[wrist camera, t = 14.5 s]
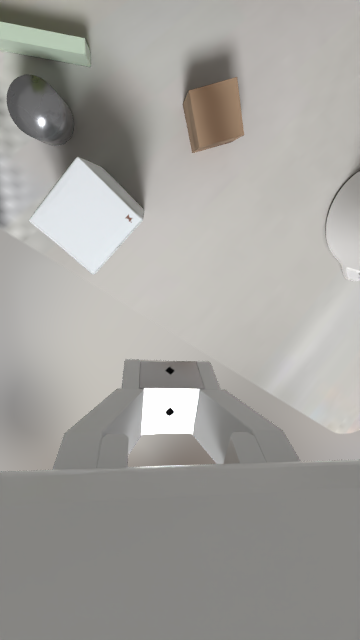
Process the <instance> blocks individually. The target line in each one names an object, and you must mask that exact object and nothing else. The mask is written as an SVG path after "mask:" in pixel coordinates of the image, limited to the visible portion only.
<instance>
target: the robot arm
mask: <svg viewBox="0 0 360 640" xmlns="http://www.w3.org/2000/svg"><path fill="white" fill-rule="evenodd" d="M326 239H327V243H328V246H329V249H330V251H331V252H332V254H333V255H334V257H335V258H336V259H337V260H338V261H339V262H340V264H341V267H342V272H343V275H344V277H345V279H347V280H350V281H359V280H360V274H359V273H360V171H359V172H357V173H356V174H355V175H353V176H352V177H351V178H350V179H349V180H348V181H347V182H346V183H345V184H344V186H343V187H342V188H341V190H340V191H339V192H338V194H337V196H336V197H335V199H334V201H333V203H332V205H331V208H330V211H329V214H328V217H327V223H326ZM158 433H191V434H192V435H193V436H194V437H195V438H196V440H197V441H198V442H199V443H200V444H201V446H202V447H203V448H204V449H205V450H206V452H207V453H208V454H209V455H210V456H211V457H212V459H213V460H214V461H215V462H216V464H208V465H179V466H151V467H150V466H149V467H127V464H128V455H129V453H130V452H131V450H132V449H133V447H134V446H135V445H136V443H137V441H138V440H139V439H140V437H141V435H142V434H158ZM0 640H360V459H358V460H332V461H303V462H302V461H300V459H299V457H298V456H297V454H296V452H295V451H294V449H293V447H292V445H291V444H290V442H289V440H288V438H287V437H286V435H285V433H284V432H283V430H281V429H280V428H279V427H277V426H276V425H274V424H273V423H272V422H270V421H269V420H267V419H266V418H264V417H263V416H262V415H260V414H259V413H257V412H256V411H255V410H253V409H252V408H250V407H249V406H247V405H246V404H244V403H243V402H242V401H240V400H239V399H238V398H236V397H235V396H233V395H232V394H230V393H229V392H228V391H226V390H221V388H220V386H219V383H218V381H217V378H216V375H215V373H214V370H213V368H212V365H211V363H210V362H209V361H160V360H139V359H136V360H135V359H125V363H124V371H123V380H122V389H116V390H115V391H114V392H113V393H112V394H110V395H109V396H108V397H107V398H105V399H104V400H103V401H102V402H101V403H100V404H98V405H97V406H96V407H95V408H94V409H93V410H91V411H90V412H89V413H88V414H87V415H85V416H84V417H83V418H82V419H81V420H80V421H79V422H77V423H76V424H75V425H74V426H73V427H71V428H70V429H69V430H68V431H67V432H66V433H65V434H64V437H63V440H62V443H61V445H60V448H59V452H58V455H57V458H56V461H55V464H54V466H53V469H52V470H31V471H3V472H2V471H1V472H0Z"/></svg>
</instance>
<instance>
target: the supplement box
mask: <svg viewBox="0 0 360 640" xmlns="http://www.w3.org/2000/svg"><path fill="white" fill-rule="evenodd" d="M143 217H144V209H143V208H142V207H141V206H140V205H139V204H138V203H137V202H136V201H135V200H134V199H133V198H132V197H131V196H130V195H129V194H128V193H127V192H126V191H125V190H124V189H123V188H122V186H121V185H120V184H119V183H118V182H117V181H115V180H114V179H113V178H112V177H111V176H110V175H109V174H108V173H107V172H106V171H105V170H104V169H103V168H102V167H101V166H98V165H96V164H94V163H92V162H89V161H87V160H85V159H82V158H80V157H77V158H76V159H75V160H74V161H73V162H72V164H71V165H70V166H69V167H68V169H67V170H66V171H65V173H64V174H63V175H62V176H61V178H60V179H59V180H58V182H57V183H56V184H55V186H54V187H53V188H52V190H51V191H50V192H49V194H48V195H47V196H46V198H45V199H44V200H43V202H42V203H41V204H40V205H39V207H38V208H37V209H36V211H35V212H34V214H33V215H32V216H31V218H30V219H29V222H31V223H32V224H33V225H35V226H36V227H37V228H38V229H39V230H41V231H42V232H43V233H44V234H46V235H47V236H48V237H49V238H50V239H52V240H53V241H54V242H55V243H56V244H58V245H59V246H60V247H61V248H62V249H63V250H65V251H66V252H67V253H68V254H69V255H70V256H72V257H73V258H74V259H75V260H76V261H77V262H79V263H80V264H81V265H82V266H83V267H84V268H86V269H87V270H88V271H89V272H90V273H91V274H95V273H96V272H97V271H98V270H99V269H100V268H101V267H102V266H103V265H104V263H105V262H106V261H107V260H108V259H109V258H110V257H111V256H112V254H113V253H114V252H115V251H116V250H117V249H118V248H119V247H120V246H121V244H122V243H123V242H124V241H125V240H126V239H127V238H128V236H129V235H130V234H131V233H132V232H133V231H134V230H135V229H136V227H137V226H138V225H139V224H140V223H141V222H142V221H143Z"/></svg>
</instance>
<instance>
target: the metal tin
mask: <svg viewBox="0 0 360 640" xmlns="http://www.w3.org/2000/svg"><path fill="white" fill-rule="evenodd" d="M7 106H8V110H9V113H10V115H11V117H12V119H13V121H14V123H15V124H16V125H17V126H18V128H19V129H20V130H22V131H23V132H24V133H26V134H27V135H29V136H31V137H33V138H35V139H37V140H40V141H42V142H44V143H46V144H48V145H52V146H59V145H62V144H64V143H66V142H67V141H68V140H69V139H70V137H71V136H72V133H73V129H74V120H73V115H72V113H71V110H70V108H69V107H68V105H67V104H66V103H65V101H64V100H63V99H62V98H61V97H60V96H59V95H58V94H57V92H56V91H55V90H54V89H53V88H52V87H51V86H50V85H49V84H48V83H47V82H46V81H44V80H43V79H41V78H39V77H37V76H34V75H22V76H20V77H18V78H16V79H15V80H14V81H13V82H12V83H11V85H10V87H9V89H8V93H7Z"/></svg>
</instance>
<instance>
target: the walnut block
mask: <svg viewBox="0 0 360 640" xmlns="http://www.w3.org/2000/svg"><path fill="white" fill-rule="evenodd" d="M183 108H184V113H185V118H186V123H187V128H188V133H189V139H190V144H191V149H192V153H195V152H198V151H202V150H205V149H209V148H212V147H216V146H219V145H223V144H227V143H230V142H232V141H234V140H236V139H238V138H240V137H241V136H243V135H244V131H243V123H242V114H241V106H240V98H239V89H238V81H237V77H235V78H232V79H228V80H224V81H221V82H217V83H214V84H210V85H207V86H203V87H200V88H196V89H193V90H189V91H188V94H187V96H186V98H185V101H184V103H183Z"/></svg>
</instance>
